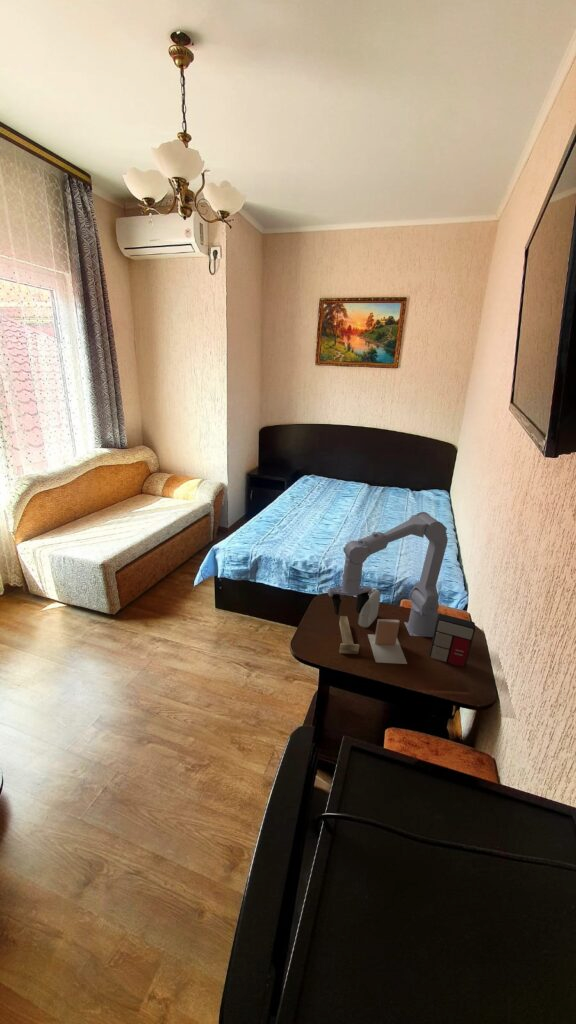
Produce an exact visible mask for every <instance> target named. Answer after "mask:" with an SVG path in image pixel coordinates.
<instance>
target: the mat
mask: <svg viewBox="0 0 576 1024" xmlns="http://www.w3.org/2000/svg"><path fill="white" fill-rule="evenodd" d="M367 637H368V641H369V644H370V648H371V651H372V654H373V658H374V661H375V663H378V664H379V663H380V664H381V663H382V664H397V665H398V664H399V665H401V664H402V665H403V664H404V665H407V664H408V662H407V659H406V657H405V654H404V652H403V649H402V647H401V643H400V642H399V639H398V638H397V639H396V645H387V644H375V643H374V639H375V634H373V633H372V634H367Z"/></svg>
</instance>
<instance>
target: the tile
mask: <svg viewBox="0 0 576 1024" xmlns="http://www.w3.org/2000/svg"><path fill="white" fill-rule="evenodd" d="M376 621H377V623H376V627H375V634H374V635H375V639H374V643H375V644H387V645H396V639H398V633H399V627H400V623H401V622H400V620H399V619H385V618H377V620H376Z"/></svg>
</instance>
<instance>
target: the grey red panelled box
mask: <svg viewBox="0 0 576 1024" xmlns="http://www.w3.org/2000/svg"><path fill="white" fill-rule="evenodd" d="M438 613H439V612H438ZM475 632H476V622H474V621H471V620H468V619H464V618H459V617H456V616H450V615H447V614H443V613H439V614H438V617H437V621H436V626H435V631H434V635H433V637H432V639H431V645H430V649H429V655H428V656H429V657H430V658H431V659H435V660H438V661H441V662H445V663H447V662H448V664H452V665H453V666H458V667H461V668H466V666H467V661H468V658H469V655H470V650H471V647H472V643H473V639H474V636H475Z"/></svg>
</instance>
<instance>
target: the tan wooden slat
mask: <svg viewBox="0 0 576 1024" xmlns="http://www.w3.org/2000/svg"><path fill="white" fill-rule="evenodd" d="M349 622H350V621H349V619H348V616H347V615H340V616H339V623H338V625H339V629H340V635H341V636H340V637H341V639H342V642H341V643H340V645H339V651H338V652H339V654H347V655H348V654H351V655H352V654H353V655H359V652H360V651H359V650H360V644H358V643H354V639H353V635H352V630H351V628H350V623H349Z"/></svg>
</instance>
